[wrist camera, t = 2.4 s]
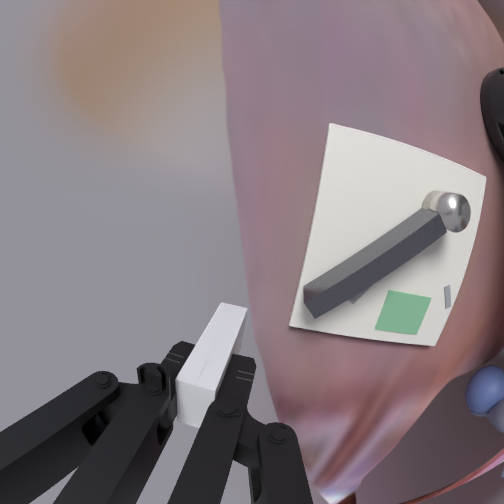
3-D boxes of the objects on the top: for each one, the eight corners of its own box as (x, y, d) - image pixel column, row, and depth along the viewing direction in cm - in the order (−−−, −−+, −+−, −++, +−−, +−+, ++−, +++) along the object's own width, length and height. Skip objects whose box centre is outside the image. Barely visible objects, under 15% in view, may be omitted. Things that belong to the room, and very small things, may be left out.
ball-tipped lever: (440, 184, 22) (462, 186, 18) (453, 213, 23) (475, 220, 19) (299, 279, 28) (298, 297, 24) (317, 305, 28) (319, 326, 24)
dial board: (479, 176, 22) (487, 177, 21) (430, 339, 29) (435, 346, 27) (328, 125, 25) (329, 122, 23) (289, 319, 31) (288, 326, 30)
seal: (470, 406, 31) (503, 481, 12) (451, 382, 30) (494, 474, 11) (502, 377, 28) (545, 445, 9) (489, 347, 27) (547, 428, 8)
